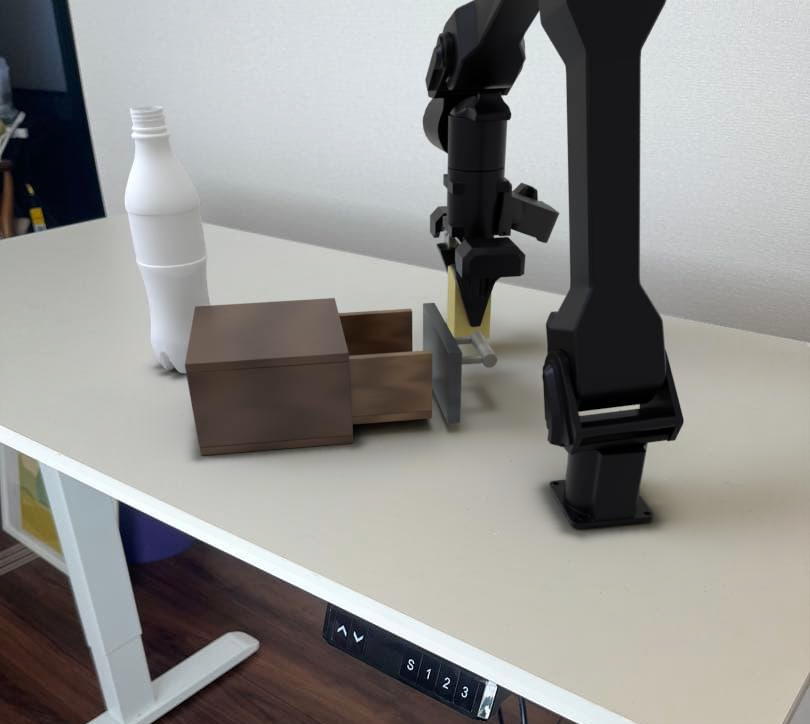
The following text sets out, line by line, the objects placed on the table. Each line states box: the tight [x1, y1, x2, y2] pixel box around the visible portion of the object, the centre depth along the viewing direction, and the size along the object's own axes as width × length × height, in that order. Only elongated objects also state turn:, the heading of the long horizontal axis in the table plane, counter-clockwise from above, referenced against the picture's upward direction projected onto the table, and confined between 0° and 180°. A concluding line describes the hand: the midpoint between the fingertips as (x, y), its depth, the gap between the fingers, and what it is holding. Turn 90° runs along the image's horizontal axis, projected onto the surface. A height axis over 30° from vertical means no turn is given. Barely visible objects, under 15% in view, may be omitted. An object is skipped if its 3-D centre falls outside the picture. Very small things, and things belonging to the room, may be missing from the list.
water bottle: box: [124, 105, 212, 375], centre depth 82 cm, size 7×7×25 cm
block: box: [446, 266, 493, 340], centre depth 89 cm, size 4×4×7 cm
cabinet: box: [185, 297, 354, 456], centre depth 77 cm, size 14×15×9 cm
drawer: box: [338, 302, 498, 425], centre depth 78 cm, size 17×13×7 cm
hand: (470, 319), depth 90 cm, fingers closed on block, 4 cm apart
